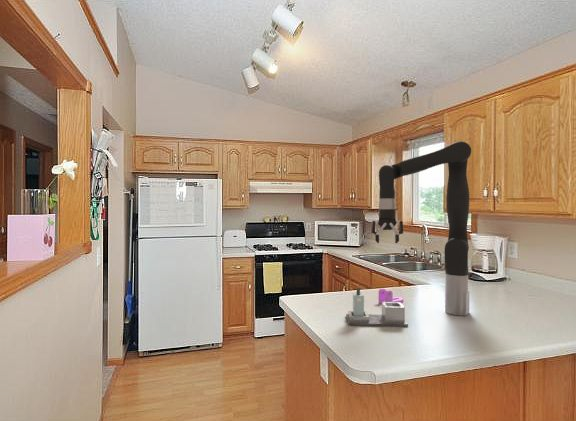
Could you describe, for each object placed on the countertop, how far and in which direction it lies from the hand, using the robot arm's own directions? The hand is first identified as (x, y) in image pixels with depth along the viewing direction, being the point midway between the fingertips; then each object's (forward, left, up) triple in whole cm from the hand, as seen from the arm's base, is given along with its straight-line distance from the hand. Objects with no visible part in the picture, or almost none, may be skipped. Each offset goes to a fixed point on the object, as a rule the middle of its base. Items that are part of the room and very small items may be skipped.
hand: (387, 242), depth 170 cm
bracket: (+1, -9, -30) cm, 32 cm away
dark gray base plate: (-5, +23, -30) cm, 38 cm away
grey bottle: (+1, +27, -29) cm, 40 cm away
